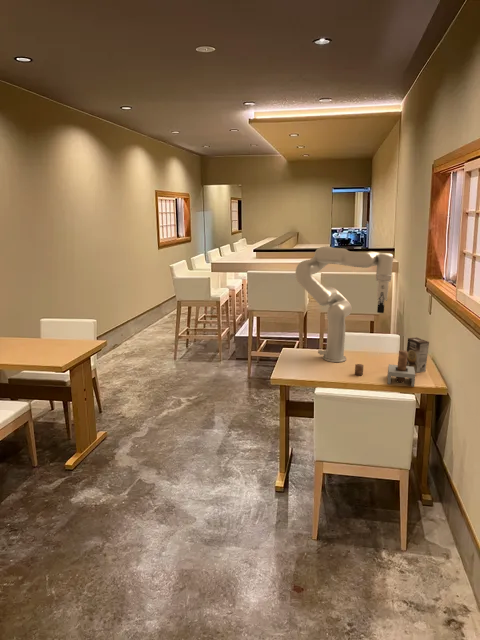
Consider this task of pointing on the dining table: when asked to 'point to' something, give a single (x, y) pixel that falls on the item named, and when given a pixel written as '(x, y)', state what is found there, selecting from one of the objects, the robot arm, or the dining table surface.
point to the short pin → (359, 369)
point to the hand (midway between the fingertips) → (380, 310)
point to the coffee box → (417, 354)
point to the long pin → (402, 364)
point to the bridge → (401, 373)
